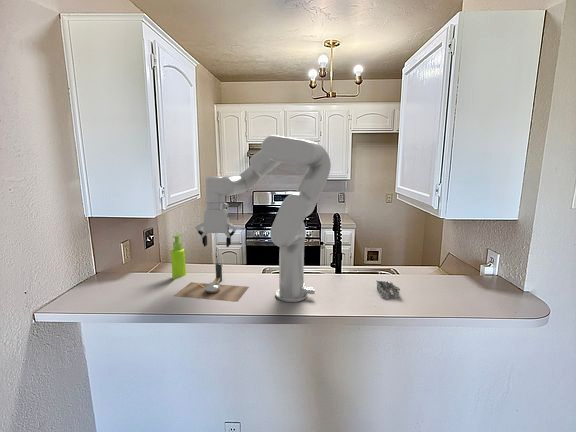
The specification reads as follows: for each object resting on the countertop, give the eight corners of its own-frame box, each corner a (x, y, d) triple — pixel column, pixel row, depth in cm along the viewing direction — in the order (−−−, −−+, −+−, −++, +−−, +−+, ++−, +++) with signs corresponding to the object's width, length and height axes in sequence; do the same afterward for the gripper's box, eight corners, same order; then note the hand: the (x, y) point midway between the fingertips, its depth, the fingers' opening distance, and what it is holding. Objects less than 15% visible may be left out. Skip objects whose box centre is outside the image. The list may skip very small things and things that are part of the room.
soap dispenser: (189, 274, 142) (186, 233, 139) (182, 280, 136) (180, 236, 132) (177, 274, 143) (174, 233, 140) (170, 279, 136) (167, 236, 133)
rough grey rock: (400, 299, 117) (401, 289, 116) (380, 298, 117) (381, 289, 117) (393, 288, 127) (393, 279, 127) (375, 287, 128) (375, 278, 127)
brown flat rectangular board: (249, 290, 125) (249, 286, 125) (237, 305, 111) (237, 300, 111) (191, 285, 130) (191, 281, 129) (173, 299, 116) (173, 295, 116)
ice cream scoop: (218, 293, 117) (217, 275, 116) (202, 293, 117) (202, 275, 116) (226, 279, 132) (226, 263, 131) (213, 278, 132) (212, 263, 131)
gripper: (238, 205, 129) (238, 244, 132) (197, 204, 129) (199, 243, 132) (234, 207, 122) (235, 248, 125) (192, 207, 122) (193, 248, 125)
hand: (216, 246), depth 129 cm, fingers open, 9 cm apart
